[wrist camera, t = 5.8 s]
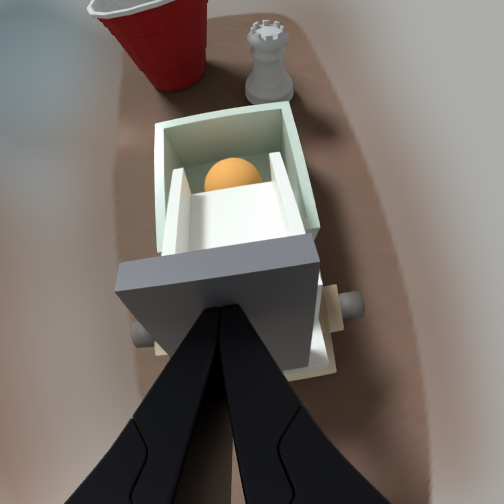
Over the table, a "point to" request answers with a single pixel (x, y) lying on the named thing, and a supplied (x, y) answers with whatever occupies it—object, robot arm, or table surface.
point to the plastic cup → (159, 37)
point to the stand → (330, 319)
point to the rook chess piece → (268, 65)
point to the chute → (233, 269)
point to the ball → (231, 174)
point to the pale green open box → (231, 153)
